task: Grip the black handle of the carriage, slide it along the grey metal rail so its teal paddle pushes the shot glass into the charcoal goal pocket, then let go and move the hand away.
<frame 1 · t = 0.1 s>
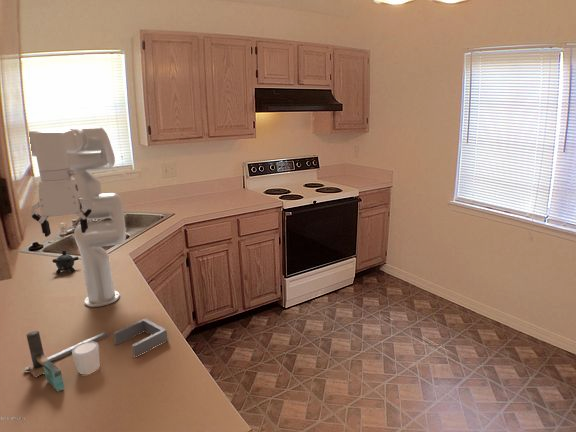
hand: (66, 233, 116), 37 cm above the counter, tool pointing down, fingers open, 9 cm apart
dark lidded pot: (68, 271, 187), on the counter
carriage: (45, 359, 108), point 6 cm above the counter, slide at 0.0 cm
rail: (68, 352, 122), on the counter
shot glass: (89, 369, 114), on the counter
goal: (139, 343, 126), on the counter
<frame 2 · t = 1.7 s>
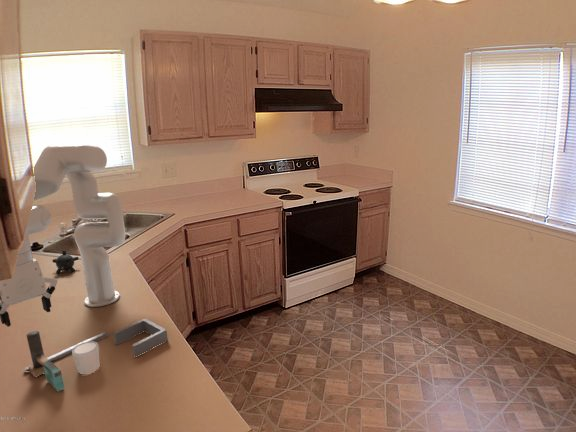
hand: (28, 317, 108), 18 cm above the counter, tool pointing down, fingers open, 9 cm apart
nothing on the counter moved.
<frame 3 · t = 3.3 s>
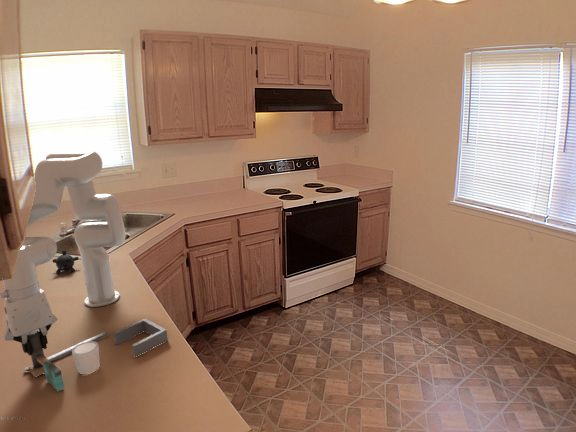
hand: (36, 349, 112), 7 cm above the counter, tool pointing down, fingers closed on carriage, 3 cm apart
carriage: (45, 359, 108), point 6 cm above the counter, slide at 0.0 cm, touching gripper
everything else where it was.
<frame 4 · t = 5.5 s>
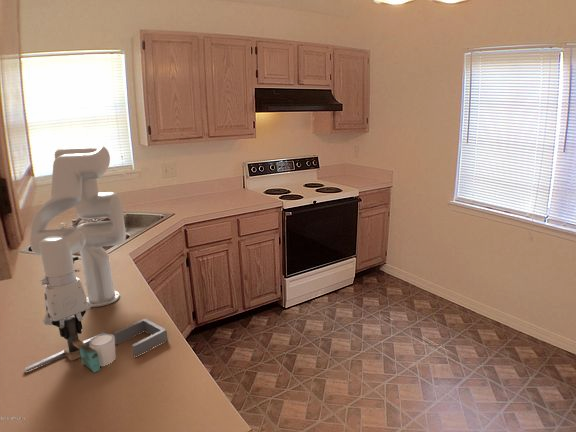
hand: (72, 334, 119), 7 cm above the counter, tool pointing down, fingers closed on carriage, 3 cm apart
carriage: (81, 343, 116), point 6 cm above the counter, slide at 9.7 cm, touching gripper, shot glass
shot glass: (105, 361, 118), on the counter, touching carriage
everything else where it was.
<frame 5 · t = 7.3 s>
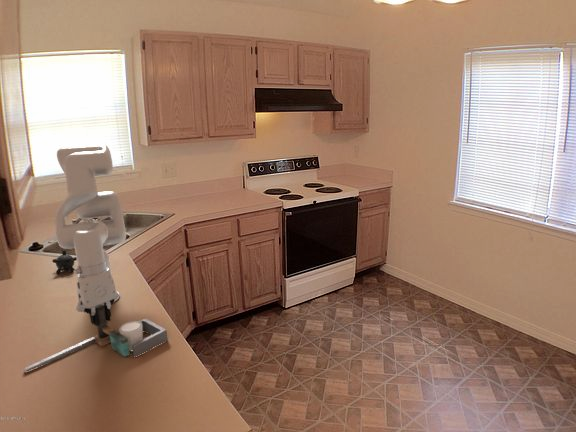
hand: (101, 321, 126), 7 cm above the counter, tool pointing down, fingers closed on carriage, 3 cm apart
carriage: (111, 330, 122), point 6 cm above the counter, slide at 18.8 cm, touching gripper, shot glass
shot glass: (133, 346, 125), on the counter, touching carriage
everything else where it was.
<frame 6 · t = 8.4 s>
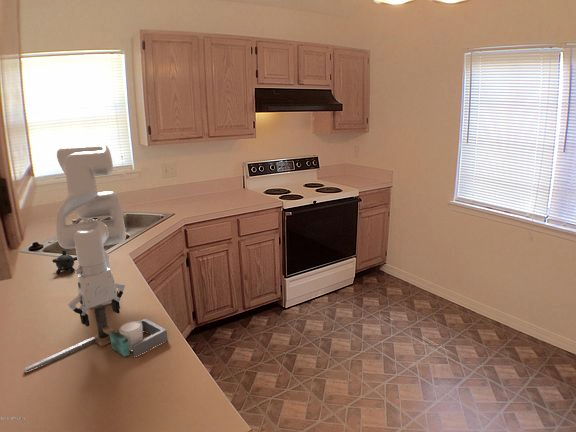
hand: (101, 318, 126), 8 cm above the counter, tool pointing down, fingers open, 9 cm apart
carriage: (111, 329, 122), point 6 cm above the counter, slide at 18.8 cm, touching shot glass
everything else where it was.
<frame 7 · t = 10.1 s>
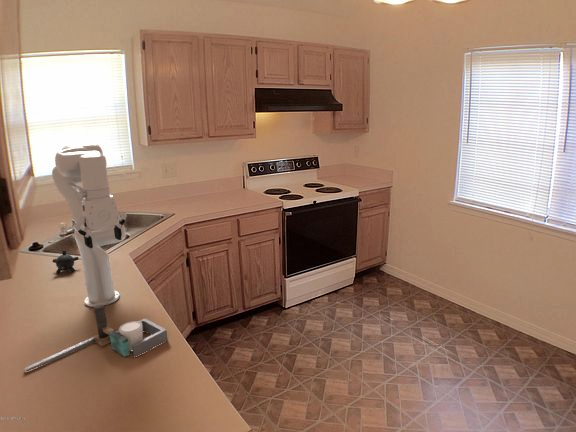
hand: (104, 243, 132), 29 cm above the counter, tool pointing down, fingers open, 9 cm apart
nothing on the counter moved.
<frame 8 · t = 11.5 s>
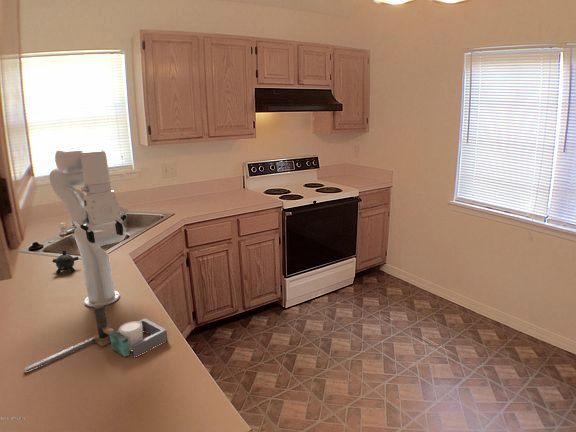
hand: (106, 238, 133), 30 cm above the counter, tool pointing down, fingers open, 9 cm apart
nothing on the counter moved.
at the end: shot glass inside the target area (2.4 cm from its centre), on the counter; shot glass tilted 0°; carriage slide at 18.8 cm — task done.
